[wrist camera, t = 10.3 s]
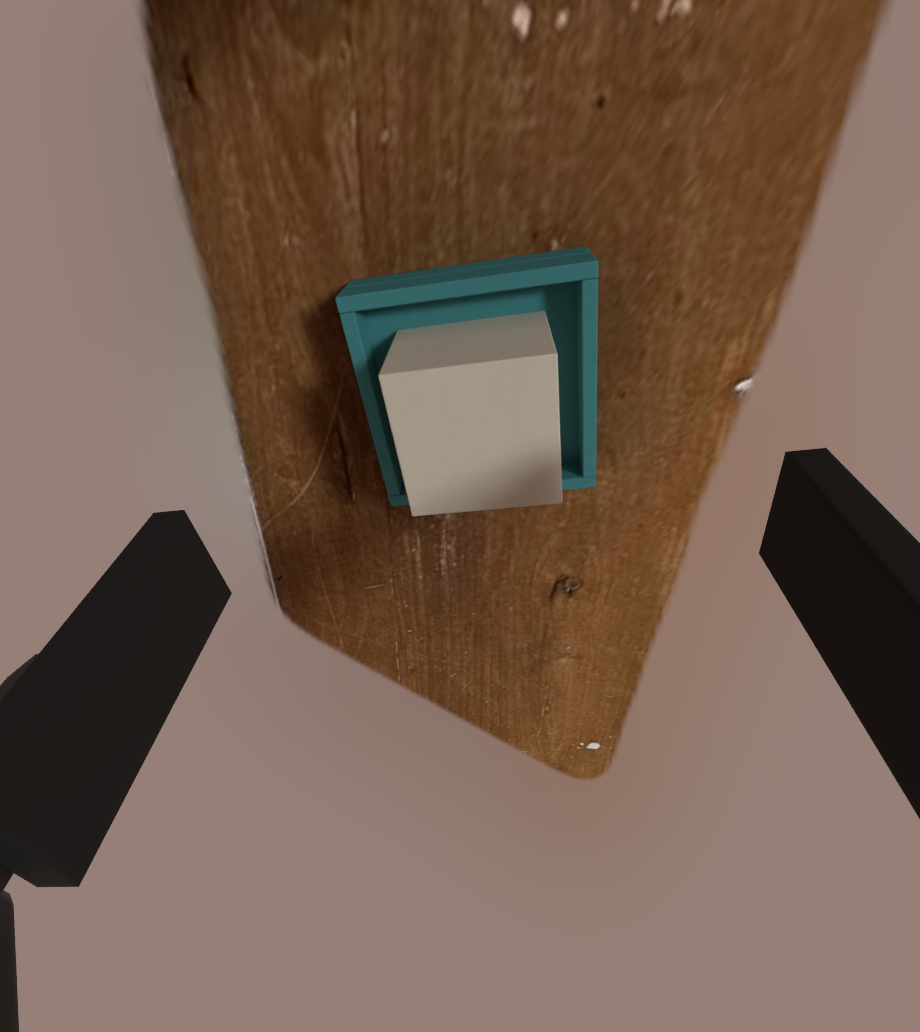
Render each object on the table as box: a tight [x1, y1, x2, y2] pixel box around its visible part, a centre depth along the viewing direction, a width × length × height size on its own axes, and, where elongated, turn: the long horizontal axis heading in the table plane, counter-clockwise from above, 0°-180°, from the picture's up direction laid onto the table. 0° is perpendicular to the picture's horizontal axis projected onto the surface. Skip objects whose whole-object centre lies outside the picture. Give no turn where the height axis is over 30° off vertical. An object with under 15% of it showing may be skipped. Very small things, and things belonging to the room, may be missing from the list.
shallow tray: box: [335, 247, 598, 506], centre depth 19 cm, size 8×8×2 cm
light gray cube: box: [378, 311, 562, 516], centre depth 18 cm, size 5×5×4 cm
